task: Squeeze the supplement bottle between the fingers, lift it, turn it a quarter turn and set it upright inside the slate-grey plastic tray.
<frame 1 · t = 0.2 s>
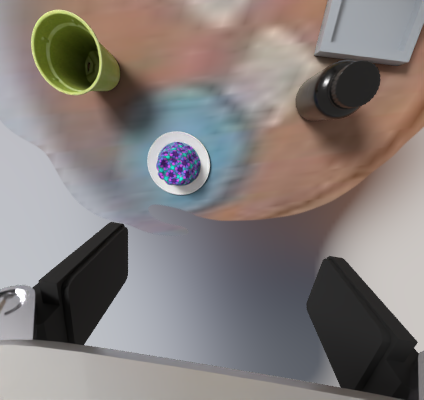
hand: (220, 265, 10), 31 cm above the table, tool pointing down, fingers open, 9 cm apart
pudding: (179, 163, 40), on the table
tray: (371, 8, 30), on the table
supplement bottle: (314, 99, 35), on the table
plant pot: (104, 71, 35), on the table
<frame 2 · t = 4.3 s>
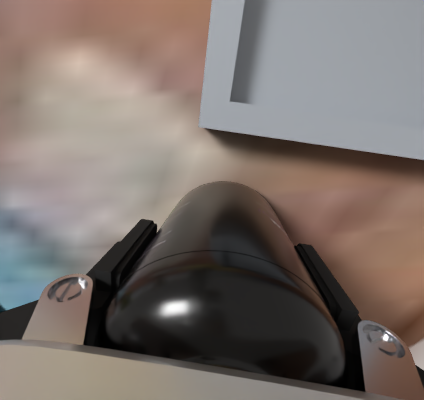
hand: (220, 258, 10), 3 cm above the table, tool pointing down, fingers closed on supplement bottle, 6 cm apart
supplement bottle: (222, 227, 14), on the table, touching gripper
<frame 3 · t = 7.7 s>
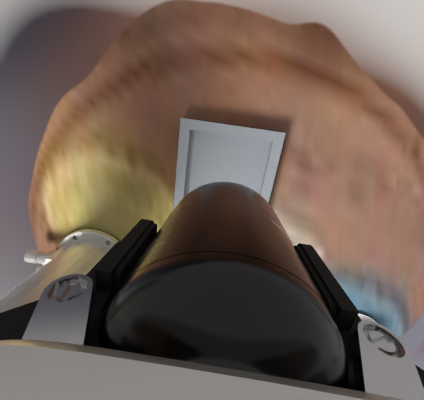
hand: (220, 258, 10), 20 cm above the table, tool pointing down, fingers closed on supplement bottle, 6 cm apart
tray: (224, 173, 29), on the table
supplement bottle: (222, 227, 14), point 17 cm above the table, touching gripper
when the fingers open (6 cm above the table, at t = 11.1 s): supplement bottle drops 1 cm, resting on tray.
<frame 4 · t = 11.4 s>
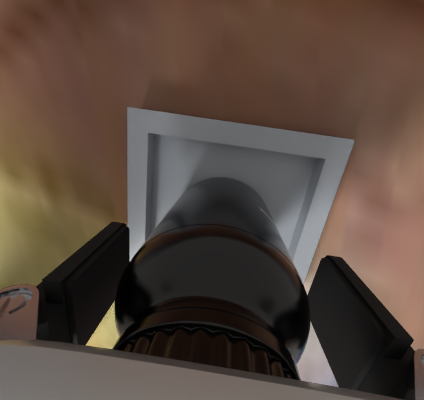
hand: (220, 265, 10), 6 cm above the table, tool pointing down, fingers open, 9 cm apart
tray: (222, 213, 16), on the table
supplement bottle: (220, 218, 15), point 1 cm above the table, touching tray
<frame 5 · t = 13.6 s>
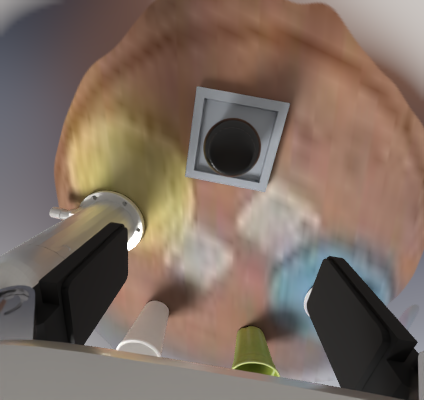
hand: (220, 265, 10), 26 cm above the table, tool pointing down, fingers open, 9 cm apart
tray: (233, 141, 33), on the table
supplement bottle: (232, 142, 32), point 1 cm above the table, touching tray
dixie cup: (157, 309, 47), on the table
plant pot: (250, 334, 47), on the table
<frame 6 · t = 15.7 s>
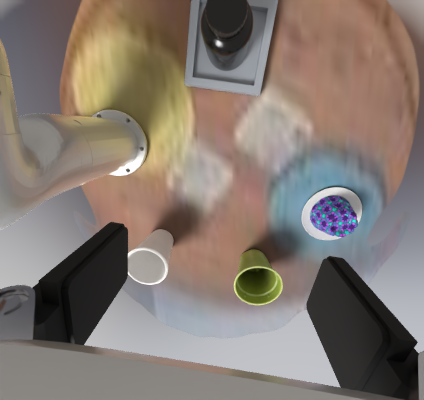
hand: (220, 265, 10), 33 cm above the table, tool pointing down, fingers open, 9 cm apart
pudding: (329, 213, 44), on the table
tray: (228, 48, 35), on the table
supplement bottle: (227, 48, 34), point 1 cm above the table, touching tray
dixie cup: (161, 239, 49), on the table
plant pot: (252, 259, 49), on the table
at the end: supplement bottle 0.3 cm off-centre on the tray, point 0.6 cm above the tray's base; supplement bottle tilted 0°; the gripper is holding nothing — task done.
